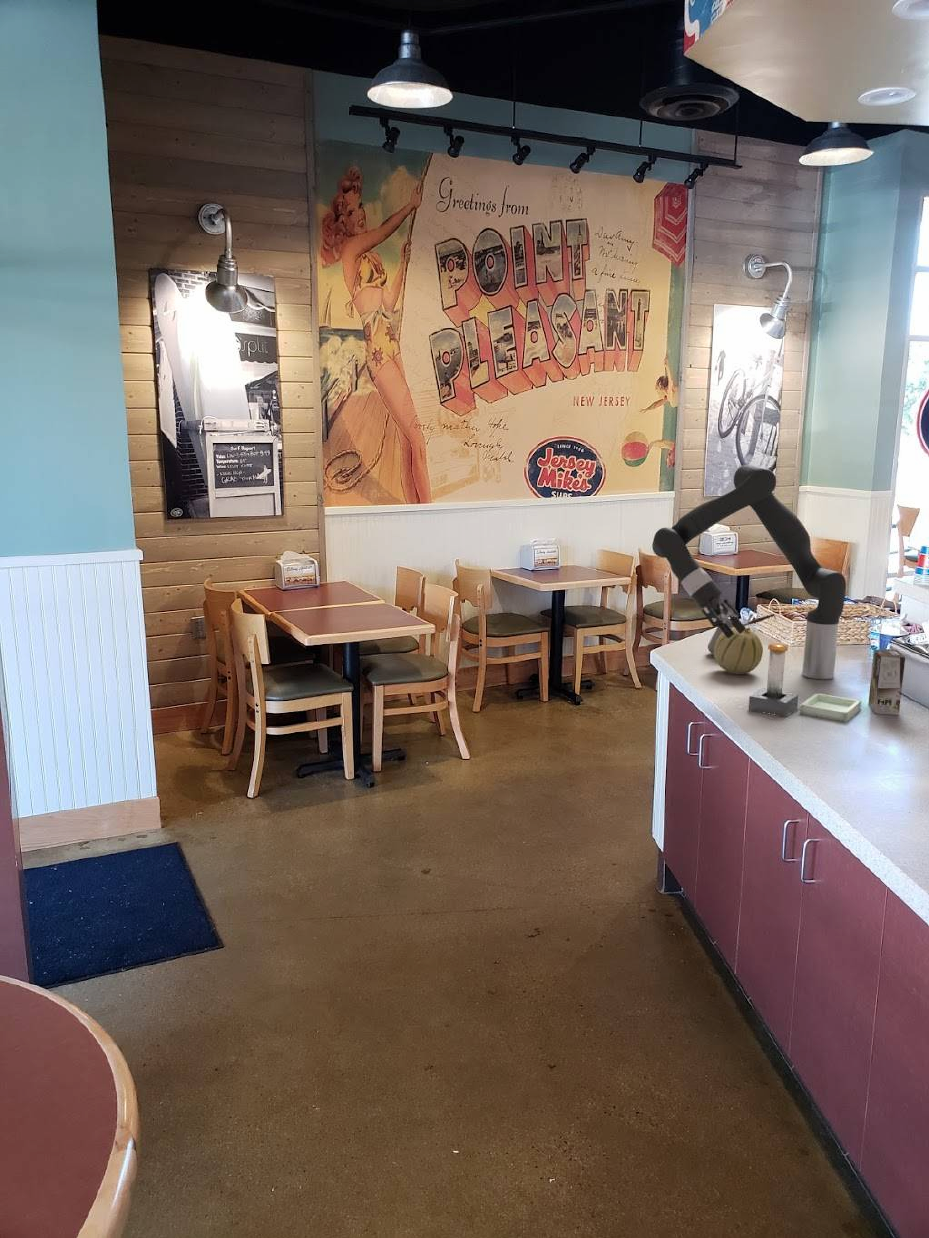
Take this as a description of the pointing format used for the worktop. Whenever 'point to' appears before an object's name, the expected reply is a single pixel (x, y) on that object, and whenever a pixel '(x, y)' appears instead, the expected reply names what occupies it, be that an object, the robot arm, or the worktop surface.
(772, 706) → the socket block
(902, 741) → the worktop surface
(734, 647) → the cantaloupe
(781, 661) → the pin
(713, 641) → the coffee pot
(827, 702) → the tray
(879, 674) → the coffee box
